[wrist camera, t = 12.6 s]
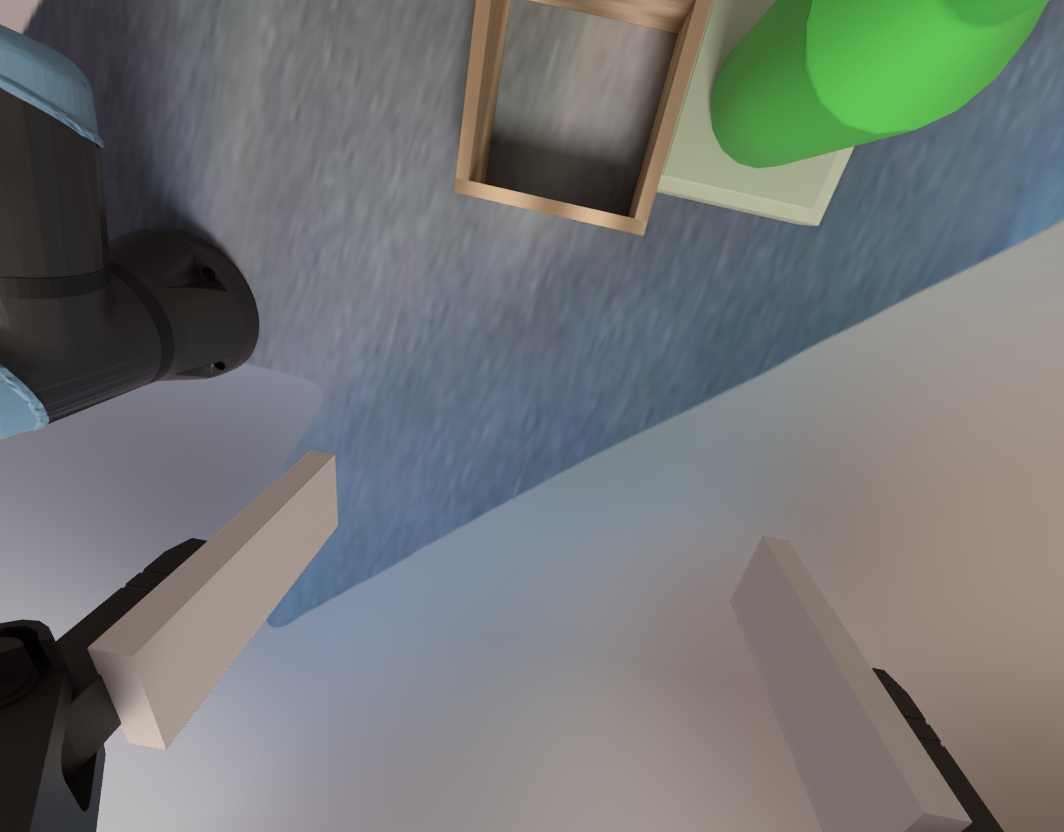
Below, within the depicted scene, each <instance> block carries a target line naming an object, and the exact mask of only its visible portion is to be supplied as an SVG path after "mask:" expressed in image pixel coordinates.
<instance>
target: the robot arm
mask: <svg viewBox="0 0 1064 832" xmlns="http://www.w3.org/2000/svg"><path fill="white" fill-rule="evenodd" d="M100 148H102V149H104V142H103V140H102V139H101V138H100V137H99V134H98V127H97V120H96V112H95V105H94V97H93V92H92V89H91V86H90V84H89V82H88V80H87V78H86V77H85V75H84V74H83V73H82V71H81V70H80V69H79V68H78V67H77V66H76V65H75V64H74V63H73V62H72V61H71V60H70V59H68V58H67V57H66V56H64V55H63V54H61V53H60V52H58V51H56V50H54V49H52V48H50V47H48V46H46V45H44V44H42V43H40V42H38V41H36V40H33V39H31V38H29V37H27V36H25V35H22V34H20V33H18V32H16V31H13V30H11V29H9V28H7V27H5V26H2V25H0V439H2V438H5V437H9V436H12V435H15V434H18V433H21V432H24V431H29V430H37V429H41V428H42V427H44V426H46V425H47V424H49V423H52V422H55V421H57V420H59V419H62V418H64V417H67V416H70V415H72V414H75V413H77V412H79V411H82V410H85V409H87V408H90V407H92V406H95V405H97V404H100V403H102V402H105V401H107V400H110V399H112V398H115V397H117V396H120V395H122V394H125V393H127V392H130V391H132V390H135V389H137V388H140V387H142V386H145V385H147V384H150V383H153V382H155V381H170V380H195V379H208V378H212V377H216V376H219V375H222V374H224V373H227V372H229V371H231V370H234V369H236V368H238V367H239V366H241V365H242V364H243V363H244V362H245V361H247V359H248V358H249V357H250V356H251V354H252V352H253V350H254V348H255V346H256V343H257V338H258V330H259V324H258V315H257V310H256V306H255V303H254V300H253V297H252V295H251V292H250V290H249V288H248V286H247V284H246V283H245V281H244V279H243V278H242V276H241V275H240V273H239V272H238V271H237V269H236V268H235V267H234V266H233V264H232V263H231V262H230V261H229V260H228V259H227V258H226V257H225V256H224V255H223V254H222V253H221V252H219V251H218V250H217V249H216V248H214V247H213V246H212V245H210V244H209V243H207V242H205V241H204V240H202V239H200V238H198V237H196V236H194V235H192V234H189V233H186V232H183V231H179V230H173V229H146V230H138V231H133V232H129V233H127V234H124V235H122V236H120V237H118V238H116V239H114V240H112V241H109V242H108V235H107V223H106V211H105V198H104V186H103V174H102V161H101V149H100ZM337 526H338V517H337V493H336V469H335V455H334V454H328V453H323V452H318V451H312V450H310V451H309V452H308V453H306V454H305V455H304V456H303V457H302V458H301V459H300V460H299V461H297V462H296V463H295V464H294V465H293V466H292V467H291V468H290V469H288V470H287V471H286V472H285V473H284V474H283V475H282V476H281V477H279V478H278V479H277V480H276V481H275V482H274V483H273V484H271V485H270V486H269V487H268V488H267V489H266V490H265V491H264V492H263V493H261V494H260V495H259V496H258V497H257V498H256V499H255V500H254V501H252V502H251V503H250V504H249V505H248V506H247V507H246V508H244V509H243V510H242V511H241V512H240V513H239V514H238V515H237V516H236V517H234V518H233V519H232V520H231V521H230V522H229V523H228V524H226V525H225V526H224V527H223V528H222V529H221V530H220V531H219V532H217V533H216V534H215V535H214V536H213V537H212V538H211V539H210V540H208V541H205V540H200V539H195V538H191V539H189V540H187V541H185V542H183V543H181V544H179V545H177V546H175V547H173V548H171V549H169V550H167V551H165V552H164V553H163V554H162V555H160V556H159V557H158V558H157V559H156V560H154V561H153V562H152V563H151V564H149V565H148V566H147V567H146V568H145V569H144V571H143V572H142V573H139V574H137V575H136V576H135V577H134V578H132V579H131V580H130V581H129V582H128V583H126V586H125V587H124V588H120V589H119V590H118V591H117V592H115V593H114V594H113V595H112V596H111V597H109V598H108V599H107V600H106V601H105V602H103V603H102V604H101V605H100V606H98V607H97V608H96V609H95V610H93V611H92V612H91V613H90V614H89V615H87V616H86V617H85V618H84V619H83V620H81V621H80V622H79V623H78V624H76V625H75V626H74V627H73V628H72V629H70V630H69V631H68V632H67V633H65V634H64V635H63V636H62V637H61V638H59V639H58V640H57V641H55V639H54V637H53V635H52V633H51V631H50V629H49V627H48V626H46V625H45V624H43V623H42V622H40V621H35V620H17V621H11V622H5V623H0V832H96V827H97V818H98V811H99V803H100V795H101V787H102V779H103V771H104V763H105V755H106V754H105V748H104V742H105V741H106V740H107V739H108V738H109V737H110V736H111V735H112V733H113V732H114V731H115V730H116V729H117V728H118V727H119V726H120V725H121V728H122V730H123V733H124V735H125V737H126V739H127V742H129V743H134V744H139V745H144V746H149V747H154V748H159V749H164V750H167V749H168V747H169V746H170V744H171V743H172V742H173V741H174V739H175V738H176V737H177V735H178V734H179V733H180V731H181V730H182V729H183V728H184V726H185V725H186V724H187V722H188V721H189V720H190V718H191V717H192V716H193V715H194V713H195V712H196V711H197V709H198V708H199V707H200V705H201V704H202V703H203V701H204V700H205V699H206V697H207V696H208V695H209V694H210V692H211V691H212V689H213V688H214V687H215V686H216V684H217V683H218V682H219V680H220V679H221V678H222V677H223V675H224V674H225V672H226V671H227V670H228V669H229V667H230V666H231V665H232V663H233V662H234V661H235V660H236V658H237V657H238V656H239V654H240V653H241V652H242V650H243V649H244V648H245V646H246V645H247V644H248V642H249V641H250V640H251V639H252V637H253V636H254V635H255V633H256V632H257V631H258V629H259V628H260V627H261V626H262V624H263V623H264V622H265V620H266V619H267V618H268V616H269V615H270V614H271V612H272V611H273V610H274V608H275V607H276V606H277V605H278V603H279V602H280V601H281V599H282V598H283V597H284V595H285V594H286V593H287V591H288V590H289V589H290V588H291V586H292V585H293V584H294V582H295V581H296V580H297V578H298V577H299V576H300V574H301V573H302V572H303V571H304V569H305V568H306V567H307V565H308V564H309V563H310V561H311V560H312V559H313V557H314V556H315V555H316V554H317V552H318V551H319V550H320V548H321V547H322V546H323V544H324V543H325V542H326V540H327V539H328V538H329V537H330V535H331V534H332V533H333V531H334V530H335V529H336V527H337ZM730 602H731V604H732V607H733V609H734V612H735V614H736V617H737V619H738V622H739V624H740V627H741V629H742V632H743V634H744V637H745V639H746V641H747V644H748V647H749V649H750V652H751V654H752V657H753V659H754V662H755V664H756V667H757V669H758V672H759V674H760V677H761V679H762V682H763V684H764V687H765V689H766V692H767V694H768V697H769V699H770V702H771V704H772V706H773V709H774V712H775V714H776V717H777V719H778V721H779V724H780V727H781V729H782V731H783V734H784V737H785V739H786V741H787V744H788V746H789V749H790V751H791V754H792V756H793V759H794V761H795V764H796V766H797V769H798V771H799V774H800V776H801V779H802V781H803V784H804V786H805V789H806V791H807V794H808V796H809V799H810V801H811V804H812V806H813V809H814V811H815V814H816V816H817V819H818V821H819V824H820V826H821V829H822V831H823V832H1004V831H1003V830H1002V829H1001V827H1000V825H999V824H998V823H997V821H996V820H995V818H994V817H993V815H992V814H991V813H990V811H989V810H988V809H987V807H986V805H985V804H984V802H983V801H982V800H981V798H980V797H979V795H978V794H977V792H976V791H975V790H974V788H973V787H972V785H971V784H970V782H969V781H968V779H967V778H966V777H965V775H964V774H963V772H962V771H961V770H960V768H959V766H958V765H957V764H956V762H955V761H954V759H953V758H952V756H951V755H950V754H949V752H948V751H947V749H946V748H945V747H943V746H942V745H941V743H940V742H941V741H940V739H939V738H938V736H937V735H936V733H935V732H934V731H933V729H932V728H931V726H930V725H928V724H926V722H925V718H924V716H923V715H922V713H921V712H920V710H919V709H918V707H917V706H916V705H915V703H914V702H913V700H912V699H911V697H910V696H909V695H908V693H907V692H906V691H905V690H904V689H902V687H901V686H900V685H898V684H897V682H896V681H894V679H893V678H891V677H890V676H889V675H888V674H887V673H886V672H885V671H884V670H881V669H876V668H871V666H870V665H869V663H868V662H867V660H866V659H865V657H864V656H863V654H862V653H861V651H860V650H859V648H858V647H857V645H856V643H855V642H854V641H853V639H852V637H851V636H850V634H849V633H848V631H847V630H846V628H845V627H844V625H843V624H842V622H841V621H840V619H839V617H838V616H837V614H836V613H835V611H834V610H833V608H832V607H831V605H830V604H829V602H828V601H827V599H826V598H825V596H824V595H823V593H822V591H821V590H820V589H819V587H818V585H817V584H816V582H815V581H814V579H813V578H812V577H811V575H810V573H809V572H808V570H807V569H806V567H805V566H804V564H803V562H802V561H801V560H800V558H799V556H798V555H797V553H796V552H795V550H794V549H793V547H792V546H791V544H790V543H789V541H787V540H782V539H776V538H771V537H766V536H763V537H762V539H761V541H760V543H759V545H758V547H757V549H756V551H755V552H754V554H753V557H752V558H751V560H750V562H749V564H748V566H747V568H746V570H745V572H744V574H743V576H742V578H741V580H740V582H739V584H738V586H737V588H736V590H735V592H734V594H733V596H732V598H731V600H730Z"/></svg>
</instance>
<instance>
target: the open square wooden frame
mask: <svg viewBox="0 0 1064 832" xmlns="http://www.w3.org/2000/svg"><path fill="white" fill-rule="evenodd" d="M530 1H535V2H539V3H544V4H548V5H552V6H557V7H561V8H566V9H570V10H575V11H579V12H584V13H588V14H593V15H597V16H602V17H606V18H611V19H615V20H620V21H624V22H628V23H633V24H637V25H642V26H646V27H651V28H655V29H660V30H664V31H669V32H673V33H678V37H677V41H676V44H675V48H674V52H673V55H672V59H671V62H670V66H669V70H668V73H667V77H666V81H665V84H664V88H663V91H662V95H661V99H660V102H659V106H658V110H657V113H656V117H655V120H654V124H653V128H652V131H651V135H650V139H649V142H648V146H647V149H646V153H645V157H644V160H643V164H642V168H641V171H640V175H639V178H638V182H637V186H636V189H635V193H634V197H633V200H632V204H631V207H630V211H629V215H628V217H625V216H621V215H617V214H612V213H608V212H604V211H599V210H595V209H590V208H586V207H582V206H577V205H573V204H569V203H564V202H560V201H556V200H551V199H547V198H542V197H538V196H534V195H529V194H525V193H521V192H516V191H512V190H508V189H503V188H499V187H494V186H490V185H486V184H485V181H486V174H487V167H488V159H489V152H490V145H491V138H492V131H493V124H494V117H495V109H496V102H497V95H498V88H499V81H500V74H501V67H502V59H503V52H504V45H505V38H506V31H507V24H508V17H509V10H510V2H511V0H476V4H475V13H474V21H473V30H472V39H471V48H470V57H469V66H468V74H467V83H466V92H465V101H464V110H463V118H462V127H461V136H460V145H459V154H458V163H457V171H456V180H455V189H454V192H456V193H460V194H465V195H469V196H473V197H478V198H482V199H486V200H491V201H495V202H500V203H504V204H508V205H513V206H517V207H521V208H526V209H530V210H534V211H539V212H543V213H547V214H552V215H556V216H561V217H565V218H569V219H574V220H578V221H582V222H587V223H591V224H595V225H600V226H604V227H608V228H613V229H617V230H621V231H626V232H630V233H635V234H639V235H644V232H645V228H646V225H647V222H648V218H649V215H650V211H651V208H652V205H653V201H654V198H655V194H656V191H657V188H658V184H659V181H660V178H661V174H662V171H663V167H664V164H665V161H666V157H667V154H668V150H669V147H670V144H671V140H672V137H673V133H674V130H675V127H676V123H677V120H678V116H679V113H680V110H681V106H682V103H683V100H684V96H685V93H686V89H687V86H688V83H689V79H690V76H691V72H692V69H693V66H694V62H695V59H696V55H697V52H698V49H699V45H700V42H701V39H702V35H703V32H704V28H705V25H706V22H707V18H708V15H709V11H710V8H711V5H712V1H713V0H530Z"/></svg>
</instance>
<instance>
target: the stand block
mask: <svg viewBox="0 0 1064 832" xmlns="http://www.w3.org/2000/svg"><path fill="white" fill-rule="evenodd" d="M775 1H776V0H713V1H712V5H711V8H710V11H709V15H708V18H707V22H706V25H705V28H704V32H703V35H702V39H701V42H700V45H699V49H698V52H697V55H696V59H695V62H694V66H693V69H692V72H691V76H690V79H689V83H688V86H687V89H686V93H685V96H684V100H683V103H682V106H681V110H680V113H679V116H678V120H677V123H676V127H675V130H674V133H673V137H672V140H671V144H670V147H669V150H668V154H667V157H666V161H665V164H664V167H663V171H662V174H661V178H660V181H659V184H658V188H657V191H656V192H659V193H663V194H667V195H672V196H676V197H681V198H685V199H689V200H694V201H698V202H703V203H707V204H711V205H716V206H720V207H724V208H729V209H733V210H738V211H742V212H746V213H751V214H755V215H759V216H764V217H768V218H773V219H777V220H781V221H786V222H790V223H794V224H799V225H816V226H818V225H819V223H820V221H821V219H822V217H823V214H824V212H825V210H826V208H827V206H828V203H829V201H830V199H831V197H832V195H833V192H834V190H835V188H836V186H837V184H838V181H839V179H840V177H841V175H842V173H843V170H844V168H845V166H846V164H847V162H848V159H849V157H850V155H851V153H852V151H853V148H854V146H853V147H849V148H846V149H842V150H838V151H834V152H831V153H827V154H823V155H819V156H815V157H812V158H808V159H804V160H800V161H796V162H792V163H788V164H784V165H781V166H775V167H766V168H757V169H756V168H753V167H750V166H746V165H743V164H739V163H737V162H735V161H734V160H733V159H732V158H731V157H730V156H729V155H727V154H726V153H725V152H724V151H723V150H722V149H721V147H720V145H719V143H718V141H717V139H716V136H715V134H714V132H713V130H712V121H711V110H710V104H711V99H712V95H713V90H714V85H715V80H716V78H717V76H718V74H719V72H720V70H721V69H722V67H723V65H724V63H725V61H726V59H727V57H728V55H729V54H730V53H731V52H732V50H733V49H734V48H735V47H736V46H737V45H738V43H739V42H740V41H741V40H742V39H743V38H744V37H745V35H746V34H747V33H748V32H749V31H750V30H751V29H752V27H753V26H754V25H755V24H756V23H757V22H758V20H759V19H760V18H761V17H762V16H763V15H764V14H765V12H766V11H767V10H768V9H769V8H770V7H771V6H772V4H773V3H774V2H775Z"/></svg>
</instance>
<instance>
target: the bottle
mask: <svg viewBox="0 0 1064 832" xmlns="http://www.w3.org/2000/svg"><path fill="white" fill-rule="evenodd" d="M1048 1H1050V0H776V1H775V2H774V3H773V4H772V6H771V7H770V8H769V9H768V10H767V11H766V12H765V14H764V15H763V16H762V17H761V18H760V19H759V20H758V22H757V23H756V24H755V25H754V26H753V27H752V29H751V30H750V31H749V32H748V33H747V34H746V35H745V37H744V38H743V39H742V40H741V41H740V42H739V43H738V45H737V46H736V47H735V48H734V49H733V50H732V52H731V53H730V54H729V55H728V57H727V59H726V61H725V63H724V65H723V67H722V69H721V70H720V72H719V74H718V76H717V78H716V80H715V85H714V90H713V95H712V99H711V104H710V110H711V121H712V130H713V132H714V134H715V136H716V139H717V141H718V143H719V145H720V147H721V149H722V150H723V151H724V152H725V153H726V154H727V155H729V156H730V157H731V158H732V159H733V160H734V161H735V162H737V163H739V164H743V165H746V166H750V167H753V168H756V169H757V168H766V167H775V166H781V165H784V164H788V163H792V162H796V161H800V160H804V159H808V158H812V157H815V156H819V155H823V154H827V153H831V152H834V151H838V150H842V149H846V148H849V147H853V146H857V145H861V144H864V143H868V142H872V141H876V140H879V139H883V138H887V137H891V136H894V135H898V134H902V133H906V132H909V131H913V130H916V129H918V128H920V127H922V126H925V125H927V124H929V123H931V122H933V121H935V120H938V119H940V118H942V117H944V116H946V115H948V114H951V113H953V112H955V111H957V110H958V109H959V108H960V107H962V106H963V105H964V104H965V103H966V102H968V101H969V100H970V99H971V98H973V97H974V96H975V95H976V94H977V93H979V92H980V91H981V90H982V89H983V88H985V87H986V86H987V85H988V84H990V83H991V82H992V81H993V80H994V79H996V78H997V77H998V75H999V74H1000V73H1001V71H1002V70H1003V69H1004V67H1005V66H1006V65H1007V64H1008V62H1009V61H1010V60H1011V58H1012V57H1013V56H1014V54H1015V53H1016V52H1017V50H1018V49H1019V48H1020V47H1021V45H1022V44H1023V43H1024V41H1025V40H1026V39H1027V37H1028V36H1029V35H1030V33H1031V32H1032V30H1033V28H1034V26H1035V25H1036V23H1037V21H1038V19H1039V17H1040V15H1041V13H1042V12H1043V10H1044V8H1045V6H1046V4H1047V2H1048Z"/></svg>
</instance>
